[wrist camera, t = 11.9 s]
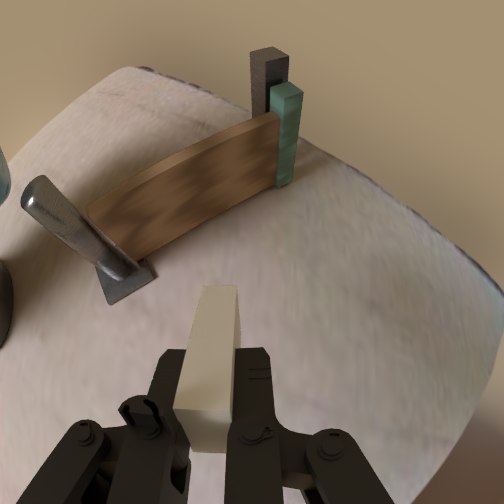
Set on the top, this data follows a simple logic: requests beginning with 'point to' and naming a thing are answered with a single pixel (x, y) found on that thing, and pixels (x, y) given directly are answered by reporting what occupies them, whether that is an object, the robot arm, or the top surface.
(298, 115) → the wooden board
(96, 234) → the hinge post
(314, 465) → the robot arm
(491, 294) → the top surface
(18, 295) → the top surface
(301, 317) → the top surface
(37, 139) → the top surface
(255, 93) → the post
